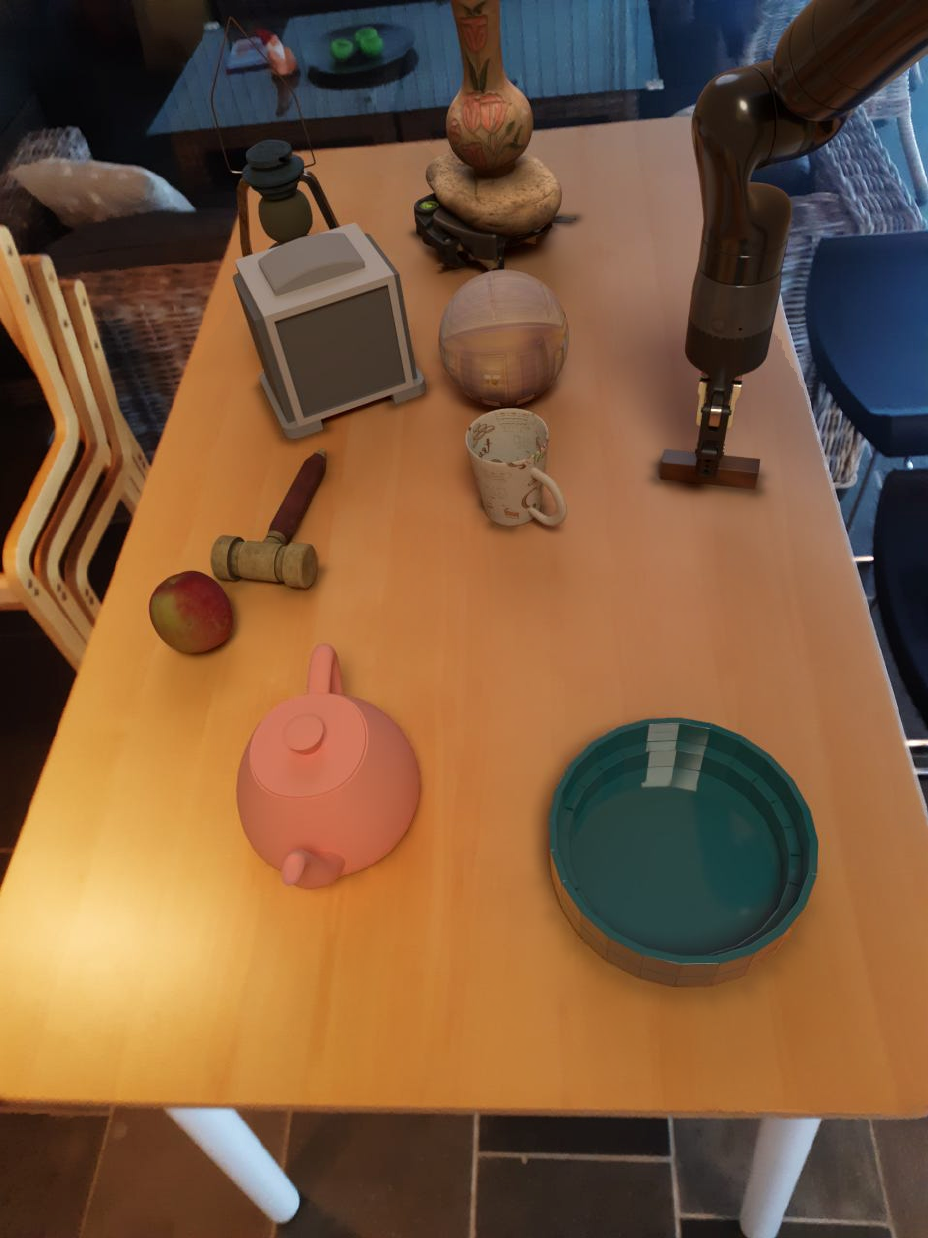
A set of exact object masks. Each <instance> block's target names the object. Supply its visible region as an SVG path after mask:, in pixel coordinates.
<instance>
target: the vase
mask: <svg viewBox="0 0 928 1238" xmlns="http://www.w3.org/2000/svg"><path fill="white" fill-rule="evenodd" d="M449 2H450V6H451V10H452V15H453V19H454V23H455V27H456V33H457V38H458V44H459V49H460V56H461V62H462V84H461V87H460V89H459V91H458V93H457V94H456V96H455V97H454V99H453V100H452V101H451V103H450V105H449V108H448V110H447V114H446V119H445V129H446V130H445V131H446V136H447V141H448V144H449V146H450V148H451V150H452V151H450V152H446V153H444V154H441V155H438V156H437V157H435V158H434V159H433V160H432V161H431V162H429V164H428V166H427V167H426V169H425V181H426V183H427V184H428V186H429V187H430V189H431V190H432V191H433V193H430V194H427V195H426V196H423V197H422V198H420V199H418V200H417V201H416V202H415V203H414V204H413V215H414V222H415V234H417V235H419V236H421V240H422V242H423V244H424V245H426V246H428V247H431V248H432V249H434V250H435V251H436V252H437V253H438V255H439V257H440V259H441V263H439V264H438V263H437V264H436V267H437V268H443V267H451V268H453V269H459V268H464V267H466V266H468V263H467V262H468V261H476V262H479V263H480V264H481V265H483V266H484V267H485V268H487V269H488V272H490V271H494V270H493V269H496V270H505V254H504V251H505V249H507V248H511V247H516V246H519V245H522V244H532V245H537V239H536V238H537V237H538V236H540V235H543V234H546V233H547V232H548V231H550V230H551V229H552V228H553V227H554V225H553V223H566V224H570V223H572V222H573V220H575V221H576V220H577V218H576V217H574V218H573V217H572V218H571V217H566V216H561V215H557V214H558V212H559V210H560V209H561V205H562V198H563V190H562V185H561V183H560V181H559V179H558V178H557V176H556V175H555V174H554V173H553V172H552V171H551V170H550V169H549V168H548V167H547V166H546V164H545V163H544V162H543V161H542V160H541V159H540V158H537V157H536V156H534V155H531V154H528V153H525V152H526V150H527V148H528V146H529V144H530V142H531V140H532V135H533V131H534V130H533V129H534V116H533V111H532V108H531V105H530V103H529V100H528V99H527V97H526V96H525V94H524V93H523V92H522V91H521V90H520V89H519V88H518V87H516V86H515V85H514V84H513V83H512V82H511V81H510V80H509V79H508V77H507V75H506V71H505V67H504V61H503V53H502V39H501V38H502V37H501V0H449ZM519 235H521V236H519ZM458 252H464V253H465V254H466V255H467V256H468V258H467V259H466V260H465V261H464V260H462V259H461V258H460V257H459V256H458Z"/></svg>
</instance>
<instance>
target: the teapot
mask: <svg viewBox="0 0 928 1238" xmlns="http://www.w3.org/2000/svg"><path fill="white" fill-rule="evenodd" d="M307 673H308V675H307V683H306V684H307V685H306V694H302V695H297V696H294V697H291V698H288V699H286V700H284V701H282V702H280V703H279V704H277V705H276V706H275V707H273V708H272V709H271V710H270V711H268V712H267V714H266V715H265V716H264V717H263V718H262V719H261V720H260V721H259V722H258V724H257V726H256V728H255V729H254V730H253V732H252V733H251V735H250V738H249V740H248V742H247V744H246V746H245V747H244V751H243V753H242V756H241V759H240V761H239V766H238V771H237V777H236V788H235V792H236V793H235V794H236V806H237V811H238V817H239V820H240V823H241V828H242V829H243V832H244V835H245V837H246V839H247V841H248V843H249V844H250V846H251V848H252V849H253V850H254V852H255V853H256V854H257V856H258V857H259V858H260V859H261V860H263V861H264V862H265V863H266V864H267V865H269V866H270V867H271V868H273V869H275V870H278V871H279V872H280V874H281V875H280V876H281V881H282V884H284V885H285V886H286V887H291V886H295V887H297V888H299V889H303V890H317V889H321V888H322V889H323V888H325V887H328V886H331V885H332V884H333V883H334V882H336V880H337V879H338V878H339V877H343V876H346V875H352V874H354V873H357V872H361V871H363V870H365V869H367V868H369V867H371V866H373V865H374V864H376V863H378V862H379V861H380V860H382V859H384V858H385V856H387V855H388V854H389V853H390V852H391V851H392V850H393V849H394V848H395V847H396V846H397V845H398V844H399V843H400V841H401V840H402V839H403V837H404V836H405V834H406V832H407V831H408V829H409V827H410V825H411V823H412V821H413V819H414V816H415V813H416V810H417V808H418V803H419V798H420V791H421V774H420V768H419V763H418V760H417V757H416V754H415V751H414V749H413V746H412V744H411V742H410V740H409V739H408V737H407V735H406V734H405V733H404V731H403V730H402V729H401V727H400V726H399V724H397V723H396V722H395V720H394V719H393V718H392V717H390V715H389V714H387V713H386V712H385V711H384V710H382V709H381V708H379V707H377V705H374V704H373V703H370V702H368V701H367V700H364V699H360V698H358V697H356V696H350V695H346V694H345V693H344V685H343V680H342V673H341V666H340V662H339V658H338V655H337V651H336V649H335V647H334V646H332V645H331V644H329V643H320V644H318V645H316V646H315V647H314V649H313V650H312V653H311V655H310V661H309V666H308V672H307Z"/></svg>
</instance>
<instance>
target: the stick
mask: <svg viewBox="0 0 928 1238" xmlns="http://www.w3.org/2000/svg"><path fill="white" fill-rule="evenodd" d="M694 453H695V451H688V450H687V451H686V450H678V449H677V450H676V449H667V448H664V449H663V452H662V457H661V463H660V473H659V474H660V475H659V479H661V480H666V481H667V480H669V481H676V482H677V481H678V482H686V483H696V484H704V485H705V484H706V485H713V486H721V487H731V488H741V489H750V490H756V488H757V482H758V480H759V474H760V467H761V459H760V458H756V457H755V458H754V457H746V456H745V457H744V456H736V455H726V454H724V457H722V459H721V460H720V461H719V466H718V472H717V477H716V478H714V479H709V478H700V477H696V476H695V474H694V473H695V466H696V460H697V458H695V457H696V454H694Z"/></svg>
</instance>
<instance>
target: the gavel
mask: <svg viewBox="0 0 928 1238" xmlns="http://www.w3.org/2000/svg"><path fill="white" fill-rule="evenodd" d="M326 455H327V450H326V448H324V447H320V448H318V449H317V451H315V452H313V454H312V455H310V456H309V457H308V458H307V457H306V459H305V460H304V461H303V463H302V465H301V466H300V468H299V471H298V472H297V474H296V476H295V478H294V479H293V482H292V483H291V485H290V487H289V489H288V491H287V492H286V494H285V496H284V498H283V500H282V502H281V504H280V505H279V507H278V509H277V510H276V513H275V515H274V517H273V518H272V520H271V522H270V523H269V527H268V530H267V534H266V536H265V537H264V539H263V540H262V541H255V540H245V539H244V538H242V536H236V535H227V534H221V535H219V536H218V537H217V538H216V540H215V541H214V543H213V544H212V547H211V550H210V558H209V560H210V568H211V571H212V573H213V575H214V576H215V578H217V579H219V580H228V581H238V580H240V579H241V578H243V579H245V580H253V581H264V582H272V583H284V584H285V585H286V586H287V587H289V588H298V589H308V588H310V587H311V586H312V584H313V583H314V581H315V579H316V576H317V571H318V554H317V551H316V549H315V547H314V545H313V544H311V543H306V542H298V541H297V542H294V541H293V542H290V543H289V544H288V545H286V544H287V542H288V541H289V540H290V539H291V538H292V536H293V534H294V532H295V530H296V528H297V526H298V525H299V523H300V521H301V519H302V518H303V517H302V516H303V515H304V513H305V511H306V509H307V507H308V505H309V503H310V501H311V499H312V497H313V495H314V493H315V491H316V489H317V488H318V485H319V484H320V482H321V480H322V478H323V476H324V474H325V472H326V460H327V457H326Z"/></svg>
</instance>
